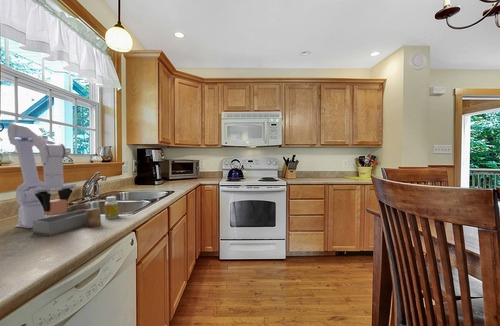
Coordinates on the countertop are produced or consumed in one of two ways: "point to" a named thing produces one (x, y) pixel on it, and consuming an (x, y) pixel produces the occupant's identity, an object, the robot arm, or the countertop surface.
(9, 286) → the countertop surface
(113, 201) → the supplement bottle
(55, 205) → the cube
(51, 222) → the box
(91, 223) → the cylinder
